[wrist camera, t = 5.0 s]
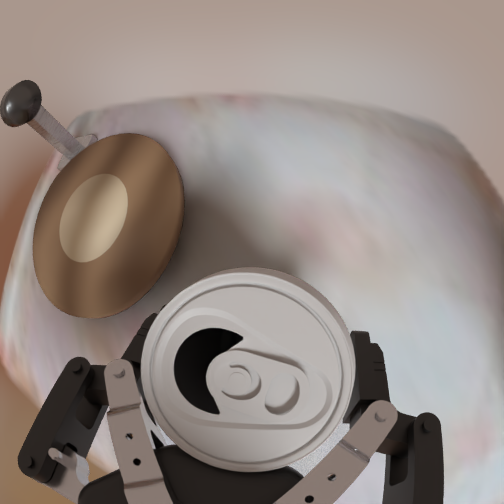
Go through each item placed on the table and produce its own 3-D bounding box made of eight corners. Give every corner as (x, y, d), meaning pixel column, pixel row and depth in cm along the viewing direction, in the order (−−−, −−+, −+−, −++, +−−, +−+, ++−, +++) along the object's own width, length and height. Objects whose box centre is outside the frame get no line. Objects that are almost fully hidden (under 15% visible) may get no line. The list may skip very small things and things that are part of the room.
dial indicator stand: (97, 138, 25) (29, 65, 12) (81, 176, 24) (0, 107, 11) (74, 143, 25) (9, 79, 13) (59, 178, 24) (-17, 119, 12)
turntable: (205, 136, 21) (201, 127, 20) (161, 340, 17) (153, 342, 16) (71, 148, 23) (65, 143, 22) (28, 295, 19) (19, 293, 18)
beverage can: (237, 286, 19) (163, 231, 7) (327, 310, 18) (396, 291, 6) (211, 372, 18) (111, 429, 6) (300, 398, 16) (318, 501, 5)
